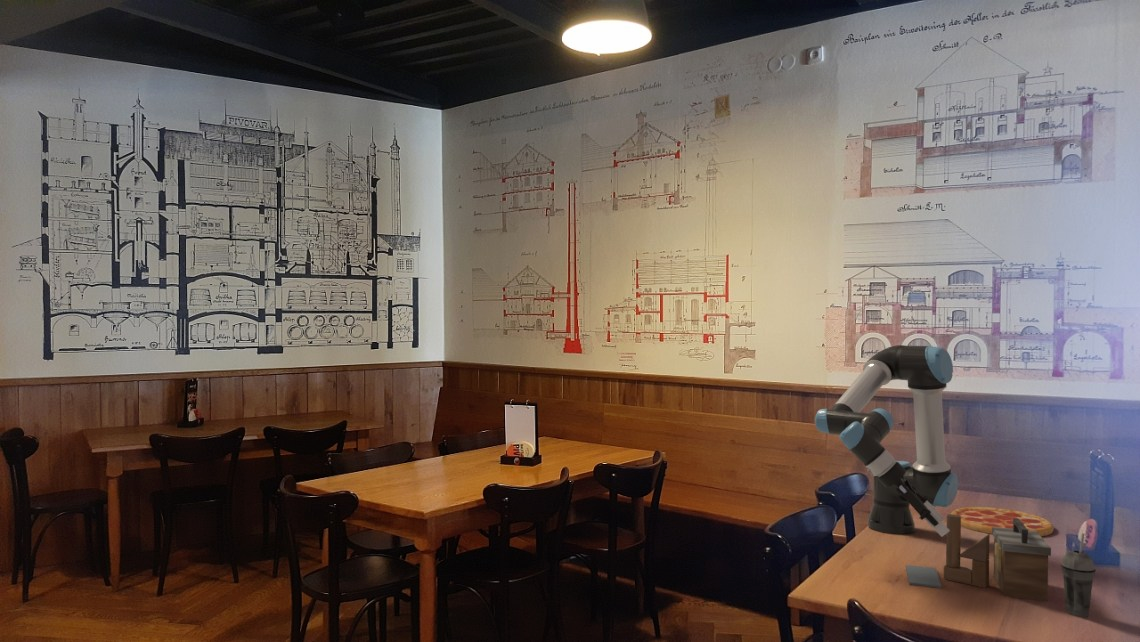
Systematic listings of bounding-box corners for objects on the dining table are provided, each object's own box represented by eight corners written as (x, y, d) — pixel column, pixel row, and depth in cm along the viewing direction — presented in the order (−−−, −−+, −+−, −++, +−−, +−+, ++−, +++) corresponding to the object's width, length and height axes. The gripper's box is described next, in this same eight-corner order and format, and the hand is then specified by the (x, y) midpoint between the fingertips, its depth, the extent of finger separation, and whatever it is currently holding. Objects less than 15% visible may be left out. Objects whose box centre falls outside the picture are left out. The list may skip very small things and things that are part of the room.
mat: (905, 566, 226) (905, 564, 226) (935, 570, 224) (935, 567, 224) (909, 584, 211) (909, 582, 211) (941, 588, 208) (941, 586, 208)
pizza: (1074, 539, 257) (1074, 531, 257) (978, 538, 258) (978, 529, 258) (1020, 514, 289) (1020, 507, 289) (934, 513, 290) (934, 505, 290)
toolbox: (991, 575, 219) (992, 514, 219) (1035, 580, 215) (1036, 518, 215) (1002, 596, 203) (1003, 529, 203) (1050, 601, 199) (1051, 534, 199)
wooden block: (985, 588, 209) (986, 522, 208) (943, 579, 216) (944, 515, 216) (989, 585, 211) (990, 520, 211) (947, 576, 218) (948, 513, 218)
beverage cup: (1053, 608, 195) (1054, 529, 195) (1080, 607, 196) (1081, 529, 195) (1074, 619, 188) (1075, 538, 187) (1102, 618, 188) (1103, 537, 188)
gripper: (875, 469, 232) (928, 524, 227) (877, 486, 209) (936, 547, 204) (894, 453, 230) (948, 508, 225) (898, 468, 207) (959, 530, 202)
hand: (943, 527), depth 215 cm, fingers open, 13 cm apart
